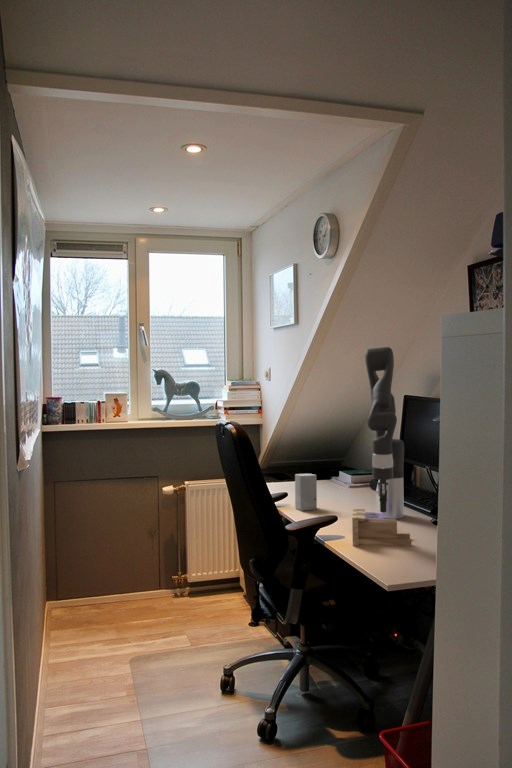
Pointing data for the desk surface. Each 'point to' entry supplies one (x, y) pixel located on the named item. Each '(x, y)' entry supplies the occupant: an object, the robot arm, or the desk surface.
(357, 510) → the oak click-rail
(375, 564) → the desk surface
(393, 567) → the desk surface
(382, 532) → the light brown wooden block
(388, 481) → the robot arm
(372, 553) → the desk surface
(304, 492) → the skincare box
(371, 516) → the tape roll
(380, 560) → the desk surface
